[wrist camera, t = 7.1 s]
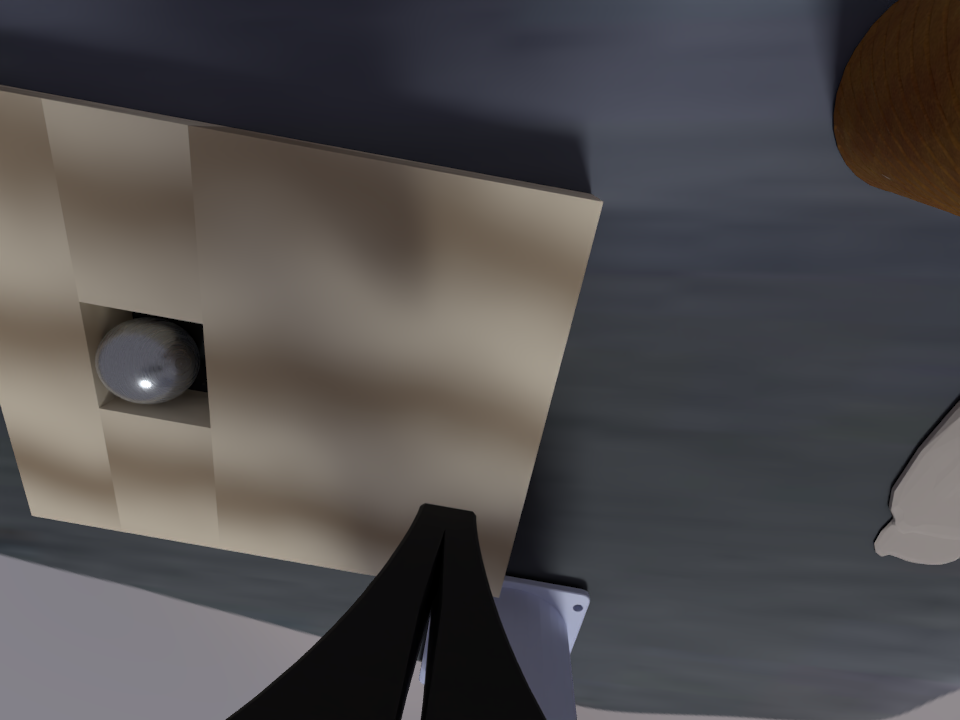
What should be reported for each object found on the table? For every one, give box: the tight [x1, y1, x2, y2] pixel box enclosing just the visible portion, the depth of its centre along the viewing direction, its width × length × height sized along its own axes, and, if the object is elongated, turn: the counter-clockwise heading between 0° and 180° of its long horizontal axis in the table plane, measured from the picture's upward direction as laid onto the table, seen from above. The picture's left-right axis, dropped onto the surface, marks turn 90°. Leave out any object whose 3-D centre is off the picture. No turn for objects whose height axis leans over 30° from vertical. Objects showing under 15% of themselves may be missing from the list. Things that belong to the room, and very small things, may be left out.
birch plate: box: [0, 85, 603, 598], centre depth 20 cm, size 18×22×2 cm
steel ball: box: [95, 317, 200, 404], centre depth 20 cm, size 4×4×4 cm
